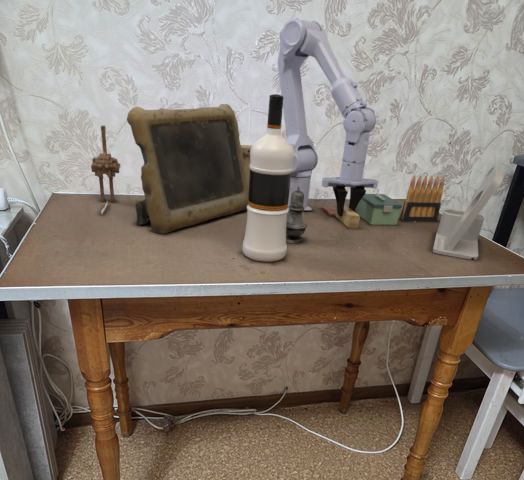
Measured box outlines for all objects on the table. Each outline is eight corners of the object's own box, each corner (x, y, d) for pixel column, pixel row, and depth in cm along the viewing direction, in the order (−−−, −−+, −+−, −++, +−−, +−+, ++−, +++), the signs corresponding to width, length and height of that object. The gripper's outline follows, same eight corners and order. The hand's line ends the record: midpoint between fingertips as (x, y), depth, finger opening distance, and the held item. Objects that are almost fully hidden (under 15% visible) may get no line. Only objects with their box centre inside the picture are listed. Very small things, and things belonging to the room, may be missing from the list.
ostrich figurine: (97, 197, 130) (90, 124, 121) (123, 198, 132) (117, 126, 122) (86, 214, 116) (77, 133, 107) (115, 215, 117) (108, 135, 108)
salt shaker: (298, 245, 108) (304, 191, 102) (275, 239, 111) (280, 186, 104) (309, 239, 112) (316, 186, 106) (287, 234, 115) (293, 182, 109)
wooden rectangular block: (322, 208, 137) (324, 197, 136) (339, 209, 138) (340, 197, 137) (344, 228, 122) (346, 215, 121) (362, 228, 123) (365, 216, 122)
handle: (231, 201, 137) (233, 144, 129) (252, 201, 139) (256, 145, 131) (234, 205, 133) (237, 147, 125) (257, 205, 135) (261, 148, 127)
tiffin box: (370, 225, 127) (375, 201, 123) (353, 212, 137) (357, 189, 134) (398, 225, 128) (403, 201, 125) (379, 212, 138) (384, 190, 135)
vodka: (233, 251, 102) (240, 91, 86) (268, 245, 107) (281, 92, 91) (258, 266, 96) (271, 96, 80) (294, 259, 101) (313, 97, 85)
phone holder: (436, 232, 125) (455, 159, 116) (477, 239, 122) (500, 165, 113) (432, 252, 111) (453, 170, 102) (478, 260, 108) (504, 177, 99)
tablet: (173, 238, 106) (170, 112, 93) (127, 225, 112) (118, 104, 99) (253, 210, 130) (259, 107, 118) (211, 200, 136) (213, 101, 123)
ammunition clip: (402, 221, 132) (413, 175, 126) (399, 219, 134) (409, 174, 128) (437, 221, 135) (448, 176, 129) (433, 219, 136) (445, 175, 130)
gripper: (331, 163, 116) (323, 219, 123) (386, 165, 119) (376, 219, 126) (322, 157, 122) (315, 211, 129) (375, 159, 125) (365, 212, 132)
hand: (344, 215), depth 128 cm, fingers closed on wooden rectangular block, 2 cm apart
